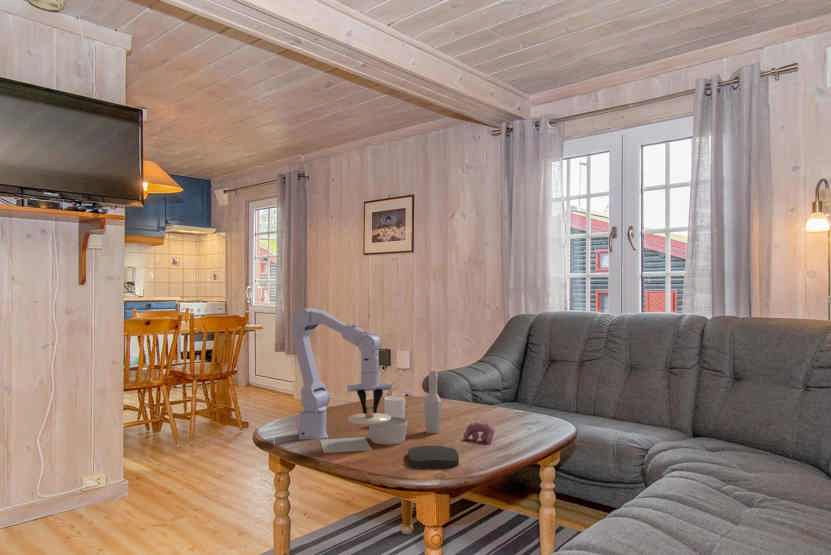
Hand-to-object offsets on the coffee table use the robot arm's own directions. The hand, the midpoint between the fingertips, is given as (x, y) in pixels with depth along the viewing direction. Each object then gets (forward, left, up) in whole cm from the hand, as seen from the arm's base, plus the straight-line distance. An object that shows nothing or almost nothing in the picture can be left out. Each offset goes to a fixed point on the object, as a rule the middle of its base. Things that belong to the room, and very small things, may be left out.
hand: (369, 412), depth 186 cm
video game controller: (+37, -4, -10) cm, 38 cm away
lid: (0, 0, -2) cm, 2 cm away
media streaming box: (+15, -21, -11) cm, 29 cm away
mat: (-8, -1, -10) cm, 13 cm away
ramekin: (+6, +2, -10) cm, 12 cm away
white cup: (+13, +23, -10) cm, 28 cm away
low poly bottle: (+24, +10, -10) cm, 28 cm away
